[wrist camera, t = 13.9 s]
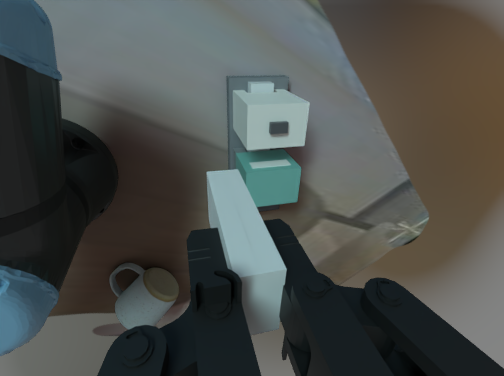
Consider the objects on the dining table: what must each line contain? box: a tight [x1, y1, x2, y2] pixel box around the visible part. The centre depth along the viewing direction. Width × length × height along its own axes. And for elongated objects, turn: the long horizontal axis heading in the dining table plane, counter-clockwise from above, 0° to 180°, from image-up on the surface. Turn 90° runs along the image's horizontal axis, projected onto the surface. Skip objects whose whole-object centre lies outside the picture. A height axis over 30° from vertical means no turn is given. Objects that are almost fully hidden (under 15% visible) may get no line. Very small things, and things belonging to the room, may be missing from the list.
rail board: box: [227, 75, 310, 212], centre depth 37 cm, size 19×8×10 cm, turn 0°
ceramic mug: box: [109, 263, 179, 330], centre depth 46 cm, size 11×8×8 cm
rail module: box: [233, 148, 301, 207], centre depth 38 cm, size 5×7×8 cm
